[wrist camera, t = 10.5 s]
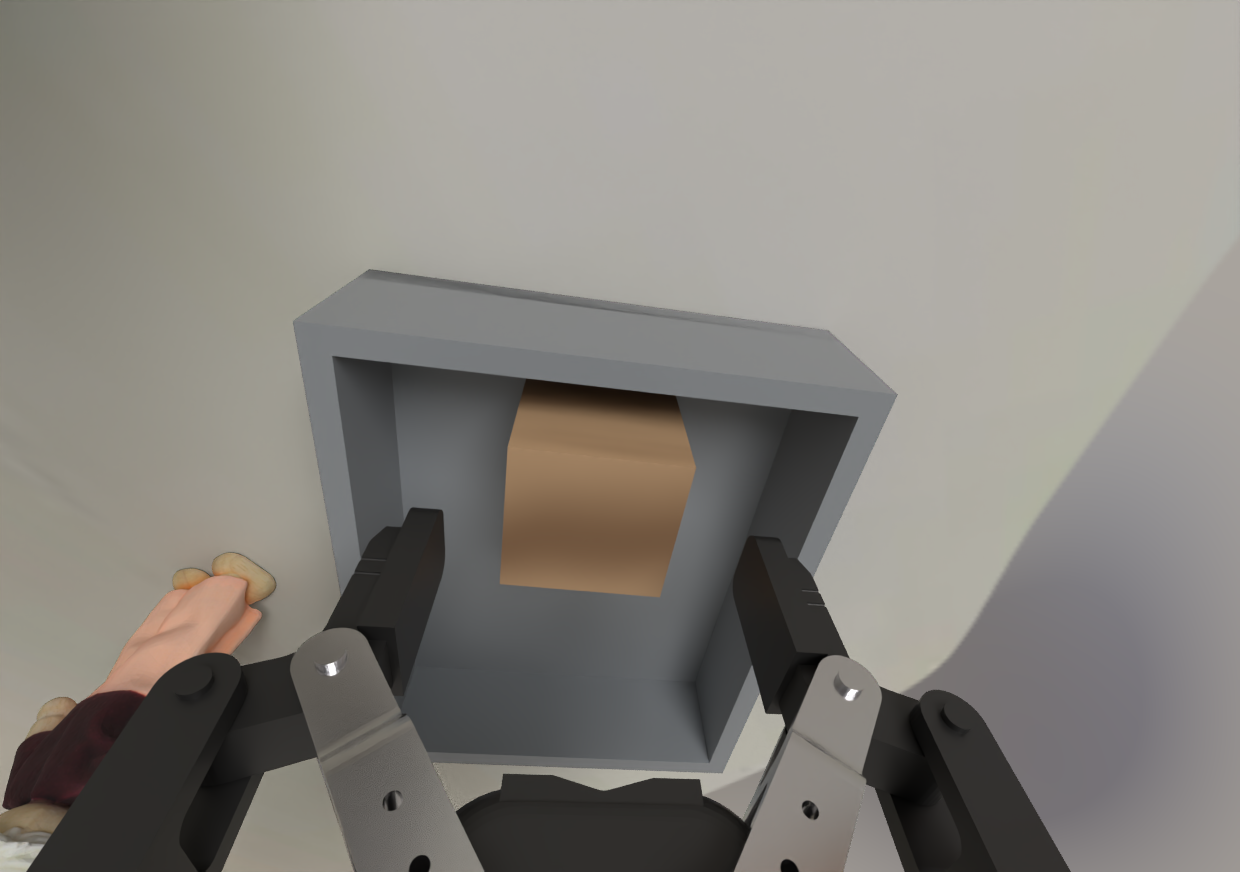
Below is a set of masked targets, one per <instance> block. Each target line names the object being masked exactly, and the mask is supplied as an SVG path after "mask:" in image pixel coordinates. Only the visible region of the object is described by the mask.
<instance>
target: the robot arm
mask: <svg viewBox="0 0 1240 872" xmlns="http://www.w3.org/2000/svg"><path fill="white" fill-rule="evenodd" d="M444 564H445V535H444V514H443V510H441V509H429V508H417V507H412V508H410V510H409V512H408V514H407V516H406V518H405V520H404V523H403V525H402V527H392V526H386V527H385V528H384V529H382V530H381V531H380V532H379V533H378V534H377V535H376V536H374V537H373V538H372V539H371V540H370V541H369V543H368V545H367V547H366V549H365V551H364V553H363V555H362V557H361V560H360V561H359V563H358V565H357V567H356V569H355V571H354V574H352V576H351V578H350V580H349V582H348V584H347V586H346V588H345V590H344V592H343V594H342V596H341V598H340V600H339V602H338V604H337V606H336V608H335V610H334V612H333V613H332V615H331V617H330V619H329V621H328V623H327V625H326V627H325V628H324V630H323V631H322V632H320V633H318V634H316V635H314V636H313V637H311V638H310V639H308V640H307V641H306V642H304V643H303V644H302V645H301V646H300V647H299V648H298V650H297V651H296V652H295V653H292V654H290V655H287V656H284V657H280V658H276V659H272V660H267V661H262V662H258V663H253V664H249V665H244V666H240V663H239V662H238V661H237V659H235V658H234V657H233V656H231V655H229V654H225V653H218V652H214V653H205V654H201V655H197V656H194V657H191V658H189V659H186V660H184V661H182V662H181V663H179V664H177V665H175V666H174V667H172V668H171V669H169V670H168V671H167V672H166V673H164V674H163V675H162V676H161V677H160V678H159V679H158V680H157V682H156V683H155V684H154V685H153V687H152V688H151V690H150V691H149V693H148V694H147V696H146V697H145V698H144V700H143V701H142V703H141V704H140V706H139V707H138V709H137V710H136V712H135V713H134V715H133V716H132V717H131V719H130V720H129V722H128V723H127V725H126V726H125V728H124V729H123V731H122V732H121V734H120V735H119V737H118V738H117V739H116V741H115V742H114V744H113V745H112V747H111V748H110V750H109V751H108V753H107V754H106V756H105V757H104V758H103V760H102V761H101V763H100V764H99V766H98V767H97V769H96V770H95V772H94V773H93V775H92V776H91V777H90V779H89V780H88V782H87V783H86V785H85V786H84V788H83V789H82V791H81V792H80V794H79V795H78V796H77V798H76V799H75V801H74V802H73V804H72V805H71V807H70V808H69V810H68V811H67V813H66V814H65V816H64V817H63V818H62V820H61V821H60V823H59V824H58V826H57V827H56V829H55V830H54V832H53V833H52V835H51V836H50V837H49V839H48V840H47V842H46V843H45V845H44V846H43V848H42V849H41V851H40V852H39V854H38V855H37V856H36V858H35V859H34V861H33V862H32V864H31V865H30V867H29V868H28V870H27V871H26V872H221V871H222V869H223V867H224V864H225V862H226V860H227V857H228V855H229V853H230V850H231V848H232V846H233V844H234V841H235V839H236V837H237V834H238V832H239V830H240V827H241V825H242V823H243V820H244V818H245V816H246V813H247V811H248V809H249V807H250V804H251V802H252V800H253V797H254V795H255V793H256V790H257V788H258V786H259V783H260V781H261V779H262V776H263V774H264V772H266V771H270V770H273V769H277V768H280V767H284V766H287V765H290V764H294V763H297V762H301V761H304V760H308V759H311V758H315V757H317V760H318V763H319V766H320V769H321V772H322V775H323V778H324V781H325V784H326V787H327V790H328V794H329V797H330V800H331V803H332V806H333V809H334V812H335V815H336V818H337V821H338V824H339V827H340V830H341V833H342V836H343V839H344V842H345V845H346V848H347V852H348V855H349V858H350V861H351V864H352V867H353V870H354V872H844V868H845V864H846V860H847V857H848V853H849V849H850V845H851V841H852V838H853V834H854V830H855V826H856V822H857V819H858V815H859V811H860V807H861V803H862V799H863V796H864V792H865V787H866V784H867V785H869V786H872V787H874V788H875V790H876V793H877V795H878V798H879V801H880V804H881V807H882V809H883V812H884V815H885V818H886V820H887V823H888V826H889V829H890V832H891V835H892V837H893V840H894V843H895V846H896V849H897V852H898V854H899V857H900V860H901V862H902V865H903V868H904V871H905V872H1071V871H1070V870H1069V868H1068V866H1067V864H1066V863H1065V861H1064V859H1063V857H1062V856H1061V854H1060V852H1059V851H1058V849H1057V847H1056V845H1055V844H1054V842H1053V840H1052V838H1051V837H1050V835H1049V833H1048V831H1047V830H1046V828H1045V826H1044V824H1043V823H1042V821H1041V819H1040V817H1039V816H1038V814H1037V812H1036V810H1035V809H1034V807H1033V805H1032V803H1031V802H1030V800H1029V798H1028V796H1027V795H1026V793H1025V791H1024V789H1023V788H1022V786H1021V784H1020V782H1019V781H1018V779H1017V777H1016V776H1015V774H1014V772H1013V770H1012V769H1011V767H1010V765H1009V763H1008V762H1007V760H1006V758H1005V756H1004V754H1003V753H1002V751H1001V749H1000V748H999V746H998V744H997V742H996V741H995V739H994V737H993V735H992V734H991V732H990V730H989V728H988V727H987V725H986V723H985V722H984V720H983V719H982V717H981V716H980V715H979V714H978V712H977V711H976V710H975V709H974V708H973V707H972V706H970V705H969V704H968V703H967V702H965V701H964V700H962V699H961V698H959V697H958V696H956V695H954V694H951V693H949V692H946V691H941V690H931V691H928V692H926V693H925V694H924V695H923V696H922V697H921V699H920V700H919V701H918V700H915V699H913V698H910V697H907V696H904V695H901V694H898V693H895V692H893V691H890V690H887V689H885V688H882V687H880V686H879V685H878V683H877V681H876V679H875V678H874V677H873V675H872V674H871V673H870V672H869V671H868V670H867V669H866V668H865V667H863V666H862V665H861V664H859V663H858V662H856V661H854V660H852V659H850V658H849V656H848V654H847V651H846V649H845V647H844V645H843V643H842V640H841V638H840V636H839V634H838V632H837V630H836V627H835V625H834V623H833V621H832V619H831V616H830V614H829V612H828V610H827V608H826V607H825V606H824V604H825V603H824V601H823V599H822V597H821V595H820V593H818V588H817V586H816V584H815V581H814V579H813V577H812V575H811V573H810V572H809V571H808V570H807V569H806V568H805V567H804V566H803V564H802V563H801V562H800V561H799V560H798V559H797V558H788V556H787V554H786V552H785V549H784V547H783V544H782V542H781V540H780V539H779V538H777V537H765V536H753V535H751V536H749V537H748V538H747V540H746V543H745V546H744V549H743V551H742V554H741V557H740V560H739V563H738V565H737V568H736V571H735V574H734V578H733V597H734V601H735V605H736V608H737V612H738V616H739V619H740V623H741V626H742V630H743V634H744V637H745V641H746V644H747V648H748V651H749V655H750V659H751V662H752V666H753V669H754V673H755V677H756V680H757V684H758V687H759V691H760V695H761V698H762V702H763V705H764V709H765V712H766V714H782V716H783V719H784V722H785V727H784V729H783V731H782V732H781V735H780V737H779V739H778V742H777V744H776V746H775V748H774V751H773V753H772V755H771V758H770V760H769V762H768V764H767V767H766V769H765V771H764V774H763V776H762V778H761V780H760V783H759V785H758V787H757V790H756V792H755V794H754V796H753V798H752V800H751V802H750V804H749V806H748V808H747V810H746V812H745V814H744V817H743V819H741V818H739V817H738V816H737V815H736V814H734V813H733V812H732V811H730V810H729V809H728V808H726V807H725V806H723V805H721V804H720V803H718V802H716V801H714V800H712V799H710V798H707V797H704V796H702V790H701V783H700V779H667V778H652V779H648V780H644V781H641V782H637V783H633V784H630V785H626V786H622V787H619V788H615V789H611V790H607V791H601V790H597V789H594V788H591V787H588V786H585V785H582V784H579V783H575V782H572V781H569V780H566V779H563V778H560V777H557V776H554V775H526V774H503V779H502V786H501V790H497V791H493V792H490V793H488V794H485V795H483V796H480V797H478V798H476V799H474V800H473V801H471V802H469V803H467V804H466V805H464V806H463V807H462V808H460V809H459V810H457V811H456V812H455V810H454V808H453V805H452V803H451V801H450V799H449V797H448V795H447V793H446V791H445V789H444V787H443V785H442V783H441V781H440V778H439V776H438V774H437V772H436V770H435V768H434V766H433V764H432V762H431V760H430V758H429V756H428V754H427V752H426V749H425V747H424V745H423V743H422V741H421V739H420V737H419V735H418V733H417V731H416V729H415V727H414V725H413V723H412V721H411V719H410V718H409V716H408V715H407V714H406V713H405V714H403V713H402V712H401V710H400V708H399V706H398V704H397V702H396V700H395V698H394V696H404V693H405V690H406V687H407V684H408V681H409V678H410V675H411V672H412V668H413V665H414V662H415V659H416V656H417V653H418V650H419V647H420V644H421V641H422V637H423V634H424V631H425V628H426V625H427V622H428V619H429V616H430V613H431V610H432V606H433V603H434V600H435V597H436V594H437V591H438V588H439V585H440V582H441V578H442V575H443V570H444Z"/></svg>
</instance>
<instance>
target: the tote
mask: <svg viewBox="0 0 1240 872" xmlns="http://www.w3.org/2000/svg"><path fill="white" fill-rule="evenodd" d="M293 325H294V330H295V336H296V342H297V348H298V353H299V359H300V365H301V370H302V376H303V382H304V387H305V393H306V399H307V404H308V410H309V416H310V421H311V427H312V433H313V439H314V444H315V450H316V456H317V461H318V467H319V473H320V478H321V484H322V490H323V495H324V501H325V507H326V512H327V518H328V524H329V530H330V535H331V541H332V547H333V552H334V558H335V564H336V569H337V575H338V581H339V586H340V592H341V596H342V594H343V592H344V590H345V588H346V586H347V584H348V582H349V580H350V578H351V576H352V574H354V571H355V569H356V567H357V565H358V563H359V561H360V560H361V557H362V555H363V553H364V551H365V549H366V547H367V545H368V543H369V541H370V540H371V539H372V538H373V537H374V536H376V535H377V534H378V533H379V532H380V531H381V530H382V529H384V528H385V527H386V526H392V527H402V525H403V523H404V520H405V518H406V516H407V514H408V512H409V510H410V508H412V507H417V508H429V509H441V510H443V514H444V535H445V564H444V570H443V575H442V578H441V582H440V585H439V588H438V591H437V594H436V597H435V600H434V603H433V606H432V610H431V613H430V616H429V619H428V622H427V625H426V628H425V631H424V634H423V637H422V641H421V644H420V647H419V650H418V653H417V656H416V659H415V662H414V665H413V668H412V672H411V675H410V678H409V681H408V684H407V687H406V690H405V693H404V696H394V698H395V700H396V702H397V704H398V706H399V708H400V710H401V712H402V713H403V714H405V713H406V714H407V715H408V716H409V718H410V719H411V721H412V723H413V725H414V727H415V729H416V731H417V733H418V735H419V737H420V739H421V741H422V743H423V745H424V747H425V749H426V752H427V754H428V756H429V758H430V760H431V762H439V763H465V764H491V765H518V766H544V767H571V768H597V769H623V770H650V771H676V772H702V773H723V771H724V769H725V766H726V764H727V762H728V760H729V758H730V756H731V754H732V751H733V749H734V747H735V745H736V743H737V741H738V738H739V736H740V734H741V732H742V730H743V728H744V725H745V723H746V721H747V719H748V717H749V715H750V712H751V710H752V708H753V706H754V704H755V702H756V699H757V697H758V695H759V693H760V691H759V687H758V684H757V680H756V677H755V673H754V669H753V666H752V662H751V659H750V655H749V651H748V648H747V644H746V641H745V637H744V634H743V630H742V626H741V623H740V619H739V616H738V612H737V608H736V605H735V601H734V597H733V578H734V574H735V571H736V568H737V565H738V563H739V560H740V557H741V554H742V551H743V549H744V546H745V543H746V540H747V538H748V537H749V536H751V535H753V536H765V537H777V538H779V539H780V540H781V542H782V544H783V547H784V549H785V552H786V554H787V556H788V558H797V559H798V560H799V561H800V562H801V563H802V564H803V566H804V567H805V568H806V569H807V570H808V571H809V572H810V573H811V575H812V577H813V576H814V574H815V572H816V570H817V568H818V565H819V563H820V561H821V559H822V557H823V555H824V552H825V550H826V548H827V546H828V544H829V542H830V540H831V537H832V535H833V533H834V531H835V529H836V527H837V524H838V522H839V520H840V518H841V516H842V514H843V511H844V509H845V507H846V505H847V503H848V501H849V498H850V496H851V494H852V492H853V490H854V488H855V485H856V483H857V481H858V479H859V477H860V475H861V473H862V470H863V468H864V466H865V464H866V462H867V460H868V457H869V455H870V453H871V451H872V449H873V447H874V444H875V442H876V440H877V438H878V436H879V434H880V431H881V429H882V427H883V425H884V423H885V421H886V418H887V416H888V414H889V412H890V410H891V408H892V406H893V403H894V401H895V399H896V397H897V395H898V394H897V393H895V392H894V391H893V390H892V389H891V388H890V387H889V386H888V385H887V384H886V383H885V382H884V381H883V380H881V379H880V378H879V377H878V376H877V375H876V374H875V373H874V372H873V371H872V370H871V369H870V368H868V367H867V366H866V365H865V364H864V363H863V362H862V361H861V360H860V359H859V358H858V357H857V356H856V355H854V354H853V353H852V352H851V351H850V350H849V349H848V348H847V347H846V346H845V345H844V344H843V343H841V342H840V341H839V340H838V339H837V338H836V337H835V336H834V335H833V334H832V333H831V332H830V331H827V330H820V329H812V328H805V327H797V326H790V325H782V324H775V323H767V322H760V321H752V320H745V319H737V318H730V317H722V316H715V315H707V314H700V313H692V312H685V311H677V310H670V309H662V308H655V307H647V306H640V305H632V304H625V303H617V302H610V301H602V300H595V299H587V298H580V297H572V296H565V295H557V294H550V293H542V292H535V291H527V290H520V289H512V288H505V287H497V286H490V285H482V284H475V283H467V282H460V281H452V280H445V279H437V278H430V277H422V276H415V275H407V274H400V273H392V272H385V271H378V270H370V269H369V270H368V271H366V272H365V273H363V274H362V275H360V276H359V277H357V278H356V279H354V280H353V281H351V282H350V283H348V284H347V285H345V286H344V287H342V288H341V289H339V290H338V291H336V292H335V293H334V294H332V295H331V296H329V297H328V298H326V299H325V300H323V301H322V302H320V303H319V304H317V305H316V306H314V307H313V308H311V309H310V310H308V311H307V312H305V313H304V314H302V315H301V316H299V317H298V318H296V319H295V320H294V321H293ZM526 378H528V379H537V380H545V381H554V382H563V383H571V384H580V385H589V386H597V387H606V388H614V389H623V390H632V391H640V392H649V393H658V394H666V395H675V396H676V398H677V402H678V405H679V409H680V412H681V416H682V419H683V423H684V426H685V430H686V434H687V437H688V441H689V444H690V448H691V451H692V455H693V458H694V462H695V465H696V470H695V474H694V478H693V481H692V485H691V488H690V492H689V495H688V499H687V502H686V506H685V510H684V513H683V517H682V520H681V524H680V527H679V531H678V535H677V538H676V542H675V545H674V549H673V552H672V556H671V559H670V563H669V567H668V570H667V574H666V577H665V581H664V584H663V588H662V591H661V595H660V597H650V596H638V595H626V594H614V593H602V592H590V591H577V590H565V589H553V588H541V587H529V586H517V585H504V584H500V569H501V552H502V535H503V518H504V501H505V484H506V467H507V450H508V444H509V440H510V436H511V433H512V429H513V425H514V422H515V418H516V414H517V410H518V407H519V403H520V399H521V396H522V392H523V388H524V384H525V381H526Z"/></svg>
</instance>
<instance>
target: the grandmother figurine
mask: <svg viewBox="0 0 1240 872" xmlns="http://www.w3.org/2000/svg"><path fill="white" fill-rule="evenodd" d="M212 572H213V574H214V575H215V576H213V577H210V576H209V575H208V574H207V573H205V572H204V571H201V570H198V569H194V568H193V569H183V570H179V571H177V572H176V573H175V574H174V577H173V587H174V589H175V590H173V591H170V592H168V593H167V594H166V595H165V596H164V597H163V598H162V600H161V601H160V602H159V603H158V604H157V606H156V607H155V608H154V609H153V610H152V612H151V613H150V614H149V615H148V617H147V618H146V620H145V621H144V622H143V624H142V625H141V626H140V627H139V628H138V630H137V631H136V632H135V633H134V634H133V636H132V637H131V638H130V639H129V641H128V642H127V643H126V645H125V646H124V648H123V650H122V651H121V653H120V656H119V658H118V660H117V661H116V663H115V665H114V667H113V668H112V670H111V672H110V674H109V675H108V677H107V679H106V682H104V683H103V684H102V685H101V686H100V687H99V688H97V689H96V690H95V691H94V692H93V693H92V694H91V695H90V696H88V697H87V698H86V699H85V700H83V701H81V702H80V703H78V704H77V703H76V702H75V701H74V700H72V699H71V698H68V697H58V698H55V699H52V700H50V701H48V702H47V703H46V704H45V705H43V706H42V708H41V709H40V710H39V712H38V715H37V722H36V723H35V724H34V725H33V726H32V727H31V729H30V731H29V733H28V735H27V737H26V739H25V741H24V742H23V743H22V744H21V745H20V746H19V747H18V749H17V752H16V755H15V759H14V763H13V766H12V769H11V773H10V777H9V780H8V784H7V788H6V792H5V795H4V801H3V805H2V806H3V808H5V809H8V810H9V811H7V812H5V813H3V814H1V815H0V872H26V871H27V870H28V868H29V867H30V865H31V864H32V862H33V861H34V859H35V858H36V856H37V855H38V854H39V852H40V851H41V849H42V848H43V846H44V845H45V843H46V842H47V840H48V839H49V837H50V836H51V835H52V833H53V832H54V830H55V829H56V827H57V826H58V824H59V823H60V821H61V820H62V818H63V817H64V816H65V814H66V813H67V811H68V810H69V808H70V807H71V805H72V804H73V802H74V801H75V799H76V798H77V796H78V795H79V794H80V792H81V791H82V789H83V788H84V786H85V785H86V783H87V782H88V780H89V779H90V777H91V776H92V775H93V773H94V772H95V770H96V769H97V767H98V766H99V764H100V763H101V761H102V760H103V758H104V757H105V756H106V754H107V753H108V751H109V750H110V748H111V747H112V745H113V744H114V742H115V741H116V739H117V738H118V737H119V735H120V734H121V732H122V731H123V729H124V728H125V726H126V725H127V723H128V722H129V720H130V719H131V717H132V716H133V715H134V713H135V712H136V710H137V709H138V707H139V706H140V704H141V703H142V701H143V700H144V698H145V697H146V696H147V694H148V693H149V691H150V690H151V688H152V687H153V685H154V684H155V683H156V682H157V680H158V679H159V678H160V677H161V676H162V675H163V674H164V673H166V672H167V671H168V670H169V669H171V668H172V667H174V666H175V665H177V664H179V663H181V662H182V661H184V660H186V659H189V658H191V657H194V656H197V655H201V654H205V653H214V652H218V653H225V654H229V655H231V654H232V653H233V652H234V651H235V649H236V648H237V647H238V646H239V645H240V644H241V643H242V642H243V640H244V639H245V638H246V637H247V636H248V635H249V633H250V632H251V631H252V629H253V628H254V627H255V625H256V624H257V623H258V622H259V621H260V619H261V618H262V613H261V612H260V611H259V610H257V609H253V608H251V607H250V606H249V605H251V604H253V603H254V602H257V601H260V600H262V599H264V598H265V597H267V596H268V595H270V594H271V593H272V592H273V591H274V589H275V587H276V582H275V581H274V578H273V577H272V576H271V575H270V574H269V573H267V572H266V571H264V570H263V569H262V568H260V567H259V566H257V565H256V564H255V563H253V562H252V561H250V560H249V559H247V558H246V557H244V556H242V555H240V554H237V553H225V554H222V555H220V556H218V557H216V558H215V559H214V561H213V564H212Z"/></svg>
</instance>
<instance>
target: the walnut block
mask: <svg viewBox="0 0 1240 872" xmlns="http://www.w3.org/2000/svg"><path fill="white" fill-rule="evenodd" d="M695 470H696V465H695V462H694V458H693V455H692V451H691V448H690V444H689V441H688V437H687V434H686V430H685V426H684V423H683V419H682V416H681V412H680V409H679V405H678V402H677V398H676V396H675V395H666V394H658V393H649V392H640V391H632V390H623V389H614V388H606V387H597V386H589V385H580V384H571V383H563V382H554V381H545V380H537V379H528V378H526V381H525V384H524V388H523V392H522V396H521V399H520V403H519V407H518V410H517V414H516V418H515V422H514V425H513V429H512V433H511V436H510V440H509V444H508V450H507V467H506V484H505V501H504V518H503V535H502V552H501V569H500V584H504V585H517V586H529V587H541V588H553V589H565V590H577V591H590V592H602V593H614V594H626V595H638V596H650V597H660V595H661V591H662V588H663V584H664V581H665V577H666V574H667V570H668V567H669V563H670V559H671V556H672V552H673V549H674V545H675V542H676V538H677V535H678V531H679V527H680V524H681V520H682V517H683V513H684V510H685V506H686V502H687V499H688V495H689V492H690V488H691V485H692V481H693V478H694V474H695Z"/></svg>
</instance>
